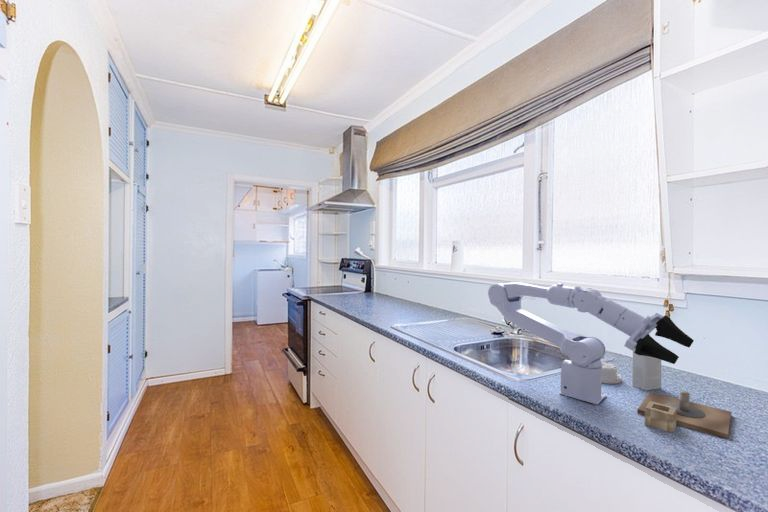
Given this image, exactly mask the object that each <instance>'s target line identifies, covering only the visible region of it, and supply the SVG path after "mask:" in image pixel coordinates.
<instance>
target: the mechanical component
mask: <svg viewBox="0 0 768 512" xmlns="http://www.w3.org/2000/svg"><path fill="white" fill-rule="evenodd" d="M601 363H602V380H601V384H607V385H608V384H611V385H612V384H613V385H614V384H616V385H617V384H620V383H622V379H623V378H622V376H621V375H620V373H618V367H617V366H615V365H614V364H612V363H609V362H604V361H601Z"/></svg>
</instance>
